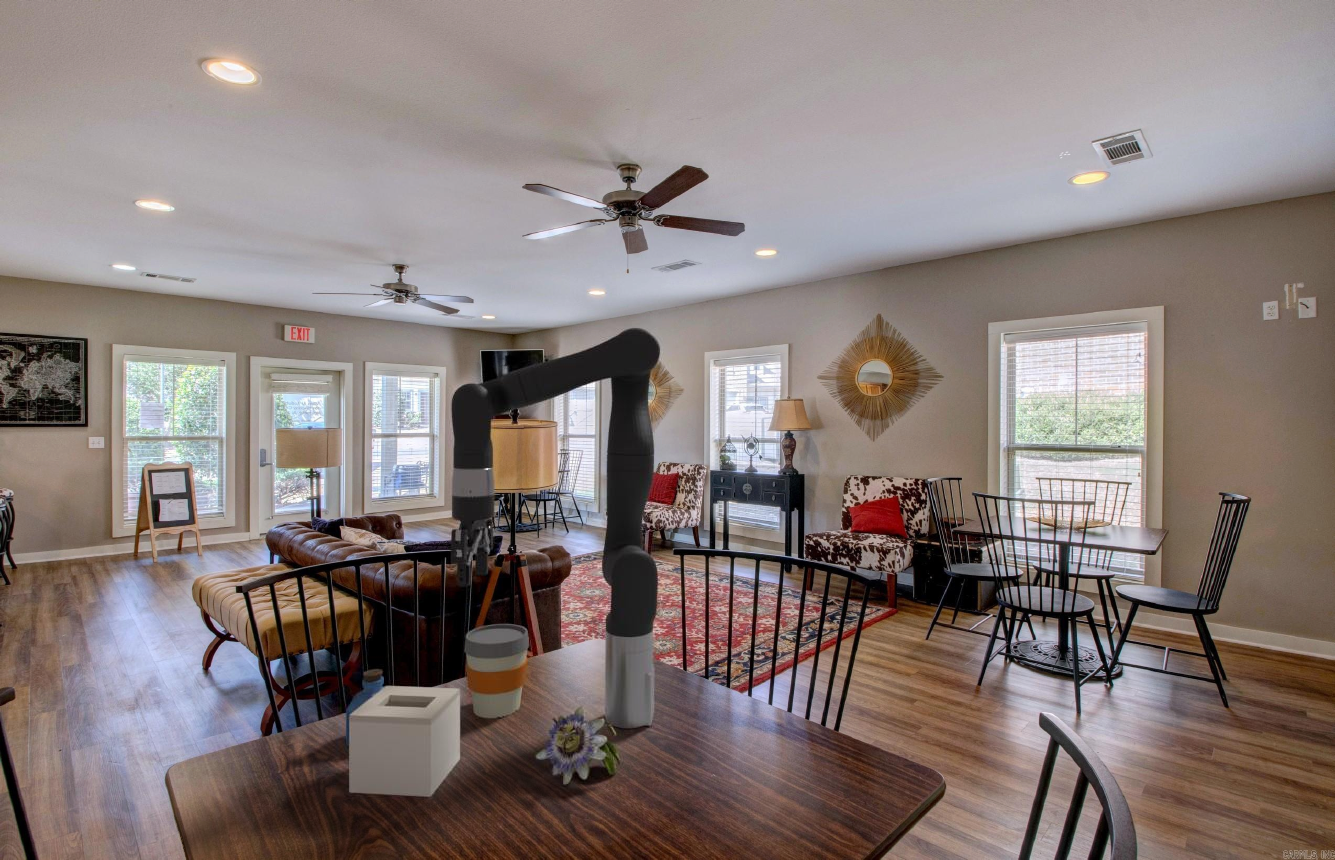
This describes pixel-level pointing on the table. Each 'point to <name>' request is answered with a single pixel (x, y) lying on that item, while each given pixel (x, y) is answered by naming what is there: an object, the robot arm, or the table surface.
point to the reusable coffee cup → (496, 668)
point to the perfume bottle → (365, 693)
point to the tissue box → (404, 741)
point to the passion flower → (578, 746)
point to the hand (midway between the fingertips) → (473, 580)
